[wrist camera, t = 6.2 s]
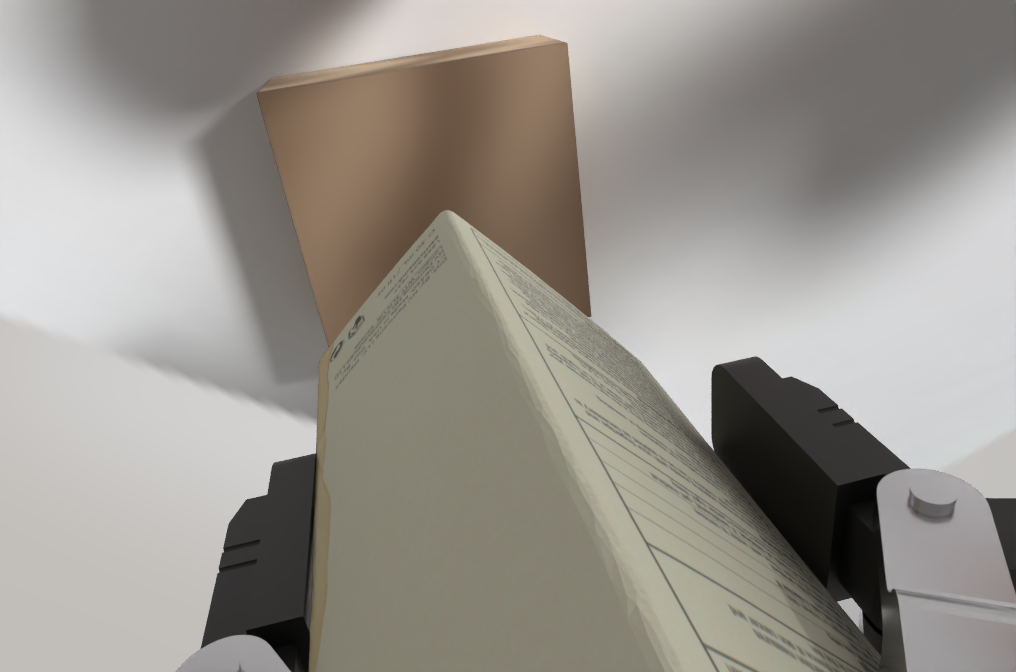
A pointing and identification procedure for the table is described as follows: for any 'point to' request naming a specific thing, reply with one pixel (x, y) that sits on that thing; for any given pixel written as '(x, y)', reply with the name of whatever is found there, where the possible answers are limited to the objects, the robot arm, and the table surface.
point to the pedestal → (430, 164)
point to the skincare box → (534, 497)
